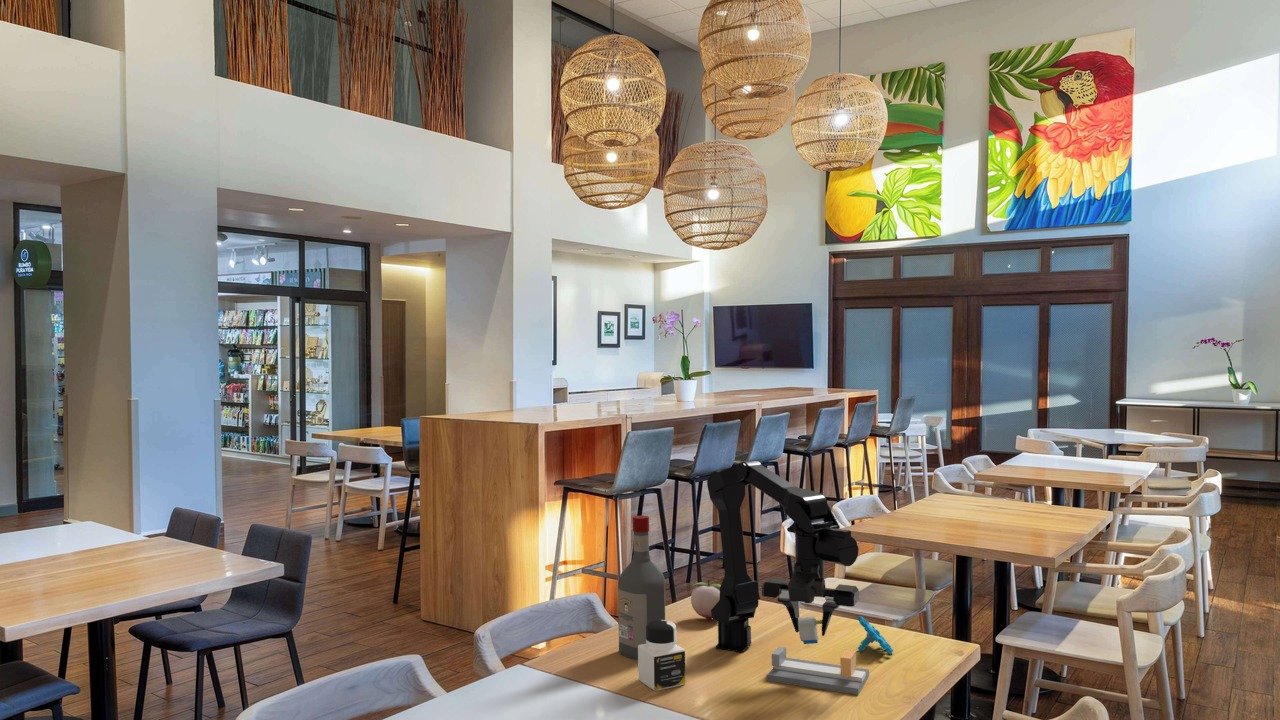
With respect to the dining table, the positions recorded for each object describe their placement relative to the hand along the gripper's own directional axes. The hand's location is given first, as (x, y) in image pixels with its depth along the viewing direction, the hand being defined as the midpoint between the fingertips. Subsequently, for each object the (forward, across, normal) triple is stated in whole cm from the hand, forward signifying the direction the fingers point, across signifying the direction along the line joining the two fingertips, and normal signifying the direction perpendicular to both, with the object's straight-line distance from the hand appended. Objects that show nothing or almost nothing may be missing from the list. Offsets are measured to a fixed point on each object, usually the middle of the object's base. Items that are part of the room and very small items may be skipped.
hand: (810, 633), depth 170 cm
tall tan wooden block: (+7, +8, 0) cm, 10 cm away
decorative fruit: (+9, -32, +27) cm, 43 cm away
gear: (+9, +9, +21) cm, 24 cm away
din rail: (+9, +2, 0) cm, 9 cm away
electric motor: (+2, +1, 0) cm, 2 cm away
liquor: (+9, -37, -1) cm, 38 cm away
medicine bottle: (+9, -26, -15) cm, 32 cm away
